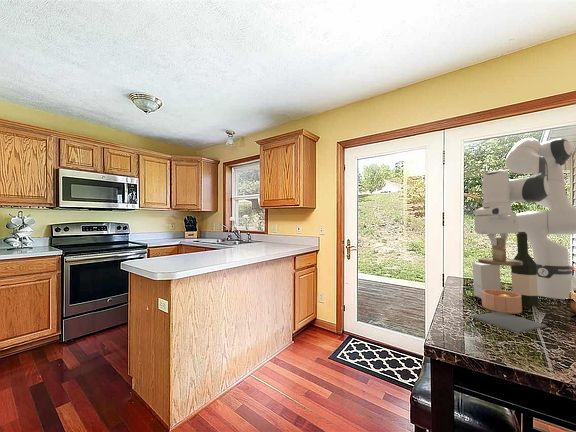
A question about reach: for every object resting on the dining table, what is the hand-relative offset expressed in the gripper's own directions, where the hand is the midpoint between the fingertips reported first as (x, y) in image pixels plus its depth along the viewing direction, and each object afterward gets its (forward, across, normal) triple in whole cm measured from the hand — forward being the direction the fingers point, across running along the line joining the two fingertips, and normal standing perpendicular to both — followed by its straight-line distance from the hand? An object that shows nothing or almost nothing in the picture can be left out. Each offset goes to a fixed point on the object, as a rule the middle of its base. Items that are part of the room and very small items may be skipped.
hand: (498, 245), depth 101 cm
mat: (+25, +13, +10) cm, 30 cm away
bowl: (+25, 0, 0) cm, 25 cm away
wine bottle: (+25, -16, -1) cm, 30 cm away
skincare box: (+25, -10, -12) cm, 30 cm away
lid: (+7, 0, 0) cm, 7 cm away
